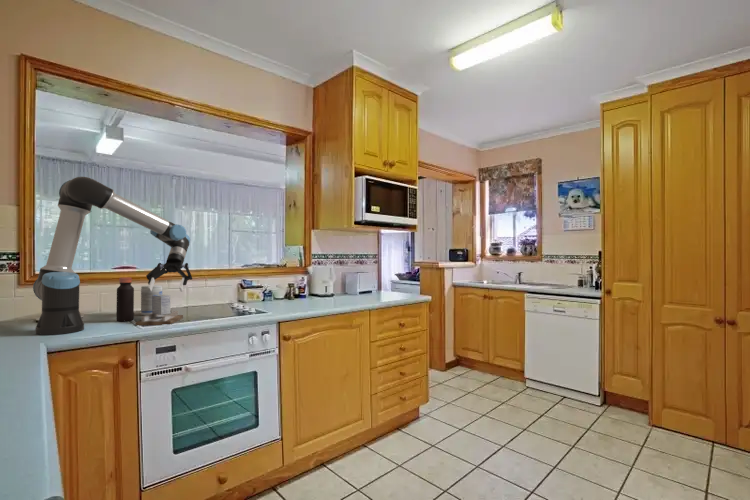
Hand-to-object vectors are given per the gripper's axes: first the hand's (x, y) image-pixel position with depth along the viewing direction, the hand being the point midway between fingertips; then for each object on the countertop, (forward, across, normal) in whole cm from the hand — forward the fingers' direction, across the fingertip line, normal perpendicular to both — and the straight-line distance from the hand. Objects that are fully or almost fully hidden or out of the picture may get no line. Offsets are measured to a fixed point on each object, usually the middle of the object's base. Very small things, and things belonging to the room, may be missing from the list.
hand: (165, 289), depth 182 cm
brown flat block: (+12, +1, -8) cm, 15 cm away
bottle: (+9, +18, -11) cm, 23 cm away
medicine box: (+10, 0, -5) cm, 11 cm away
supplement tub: (-4, +13, -24) cm, 27 cm away
